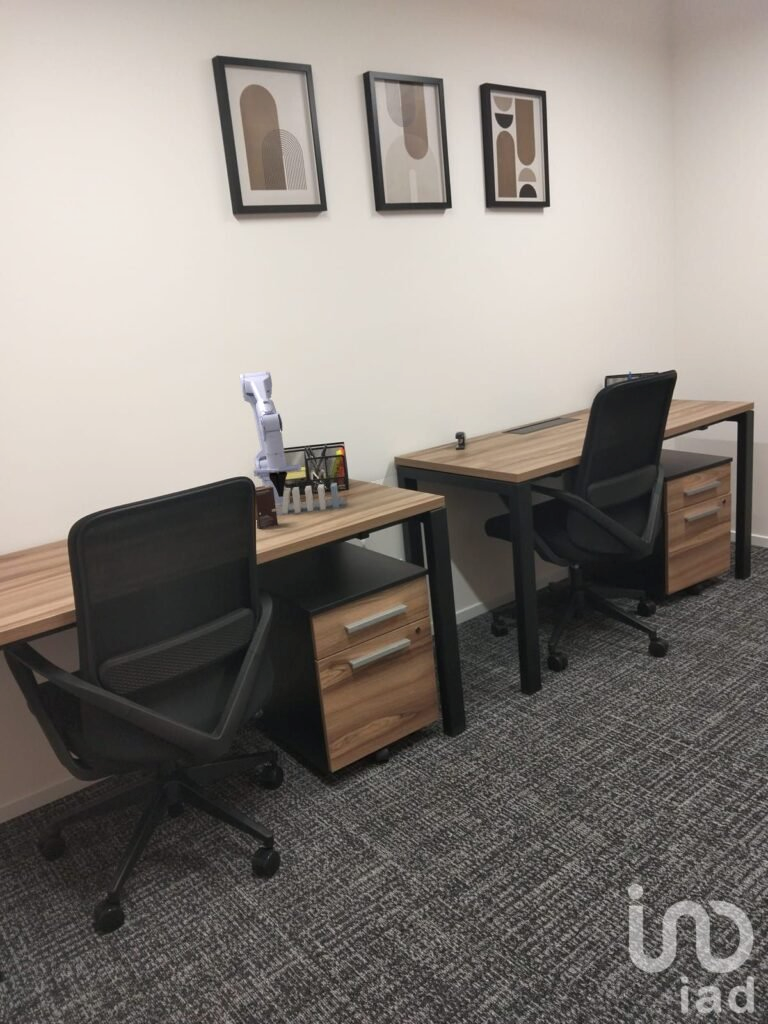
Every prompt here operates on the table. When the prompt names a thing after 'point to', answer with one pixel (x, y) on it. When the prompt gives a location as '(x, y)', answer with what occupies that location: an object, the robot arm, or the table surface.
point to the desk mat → (316, 507)
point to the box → (265, 507)
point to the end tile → (334, 495)
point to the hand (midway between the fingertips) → (281, 496)
